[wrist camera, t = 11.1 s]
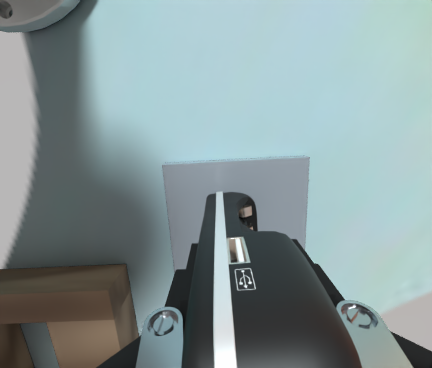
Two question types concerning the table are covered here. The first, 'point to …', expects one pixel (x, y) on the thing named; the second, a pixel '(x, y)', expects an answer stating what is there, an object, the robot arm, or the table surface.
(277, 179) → the tile
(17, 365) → the holder
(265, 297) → the battery charger
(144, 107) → the table surface
